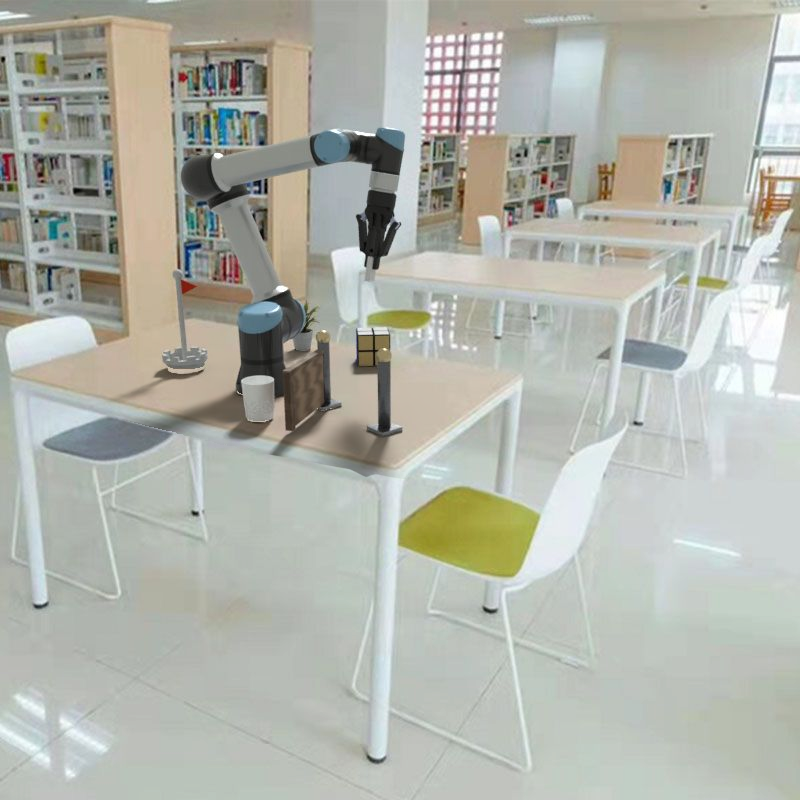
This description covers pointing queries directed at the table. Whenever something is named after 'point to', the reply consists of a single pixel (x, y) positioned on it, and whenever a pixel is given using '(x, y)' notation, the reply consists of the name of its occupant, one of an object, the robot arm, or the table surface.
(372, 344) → the puzzle cube
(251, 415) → the white cup
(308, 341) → the house plant
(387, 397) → the gate posts
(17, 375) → the table surface
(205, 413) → the table surface
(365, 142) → the robot arm
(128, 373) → the table surface
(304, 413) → the panel
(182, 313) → the flag stand
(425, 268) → the table surface
